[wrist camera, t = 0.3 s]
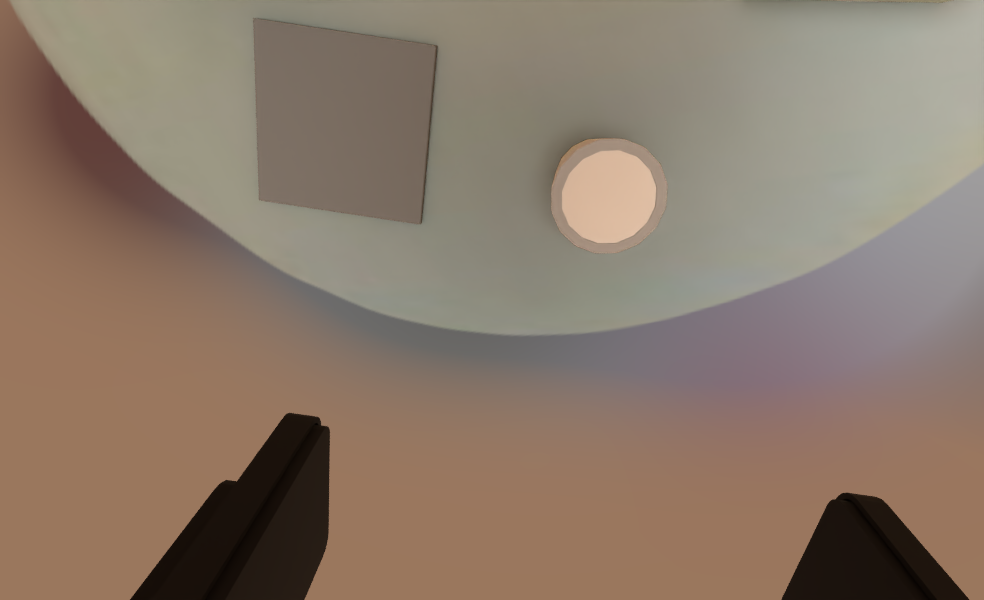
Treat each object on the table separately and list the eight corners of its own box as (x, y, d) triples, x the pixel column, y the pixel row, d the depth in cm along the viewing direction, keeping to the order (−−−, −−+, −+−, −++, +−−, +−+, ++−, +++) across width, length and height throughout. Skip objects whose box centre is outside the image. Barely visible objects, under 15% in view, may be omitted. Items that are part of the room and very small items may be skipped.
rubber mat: (257, 19, 35) (253, 18, 34) (437, 46, 35) (435, 45, 34) (262, 198, 39) (259, 200, 39) (421, 222, 39) (420, 224, 39)
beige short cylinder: (538, 218, 39) (540, 245, 32) (556, 121, 36) (563, 129, 30) (630, 233, 39) (651, 262, 32) (654, 137, 36) (683, 148, 30)
